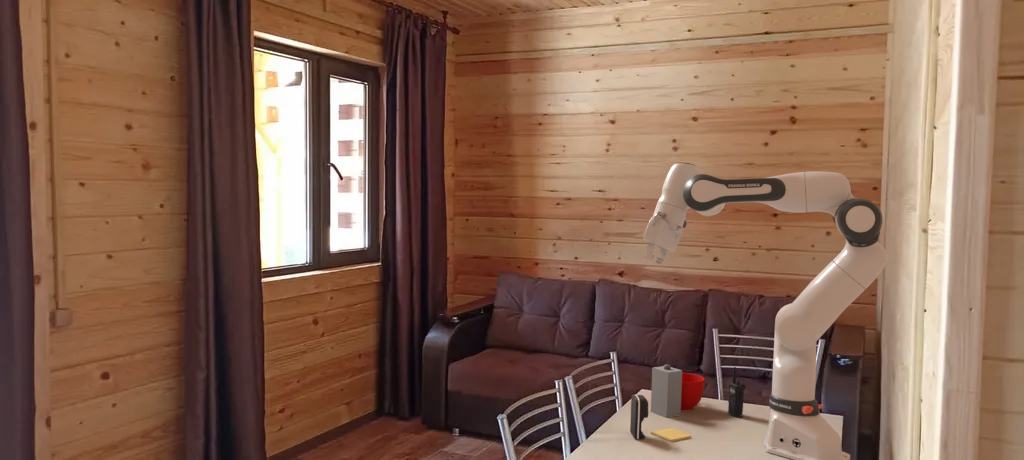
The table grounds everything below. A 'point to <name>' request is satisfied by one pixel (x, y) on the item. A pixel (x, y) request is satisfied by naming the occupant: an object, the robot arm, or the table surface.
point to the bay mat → (671, 434)
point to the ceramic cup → (691, 390)
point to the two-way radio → (736, 396)
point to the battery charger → (638, 415)
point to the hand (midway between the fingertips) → (653, 262)
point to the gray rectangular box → (666, 391)
